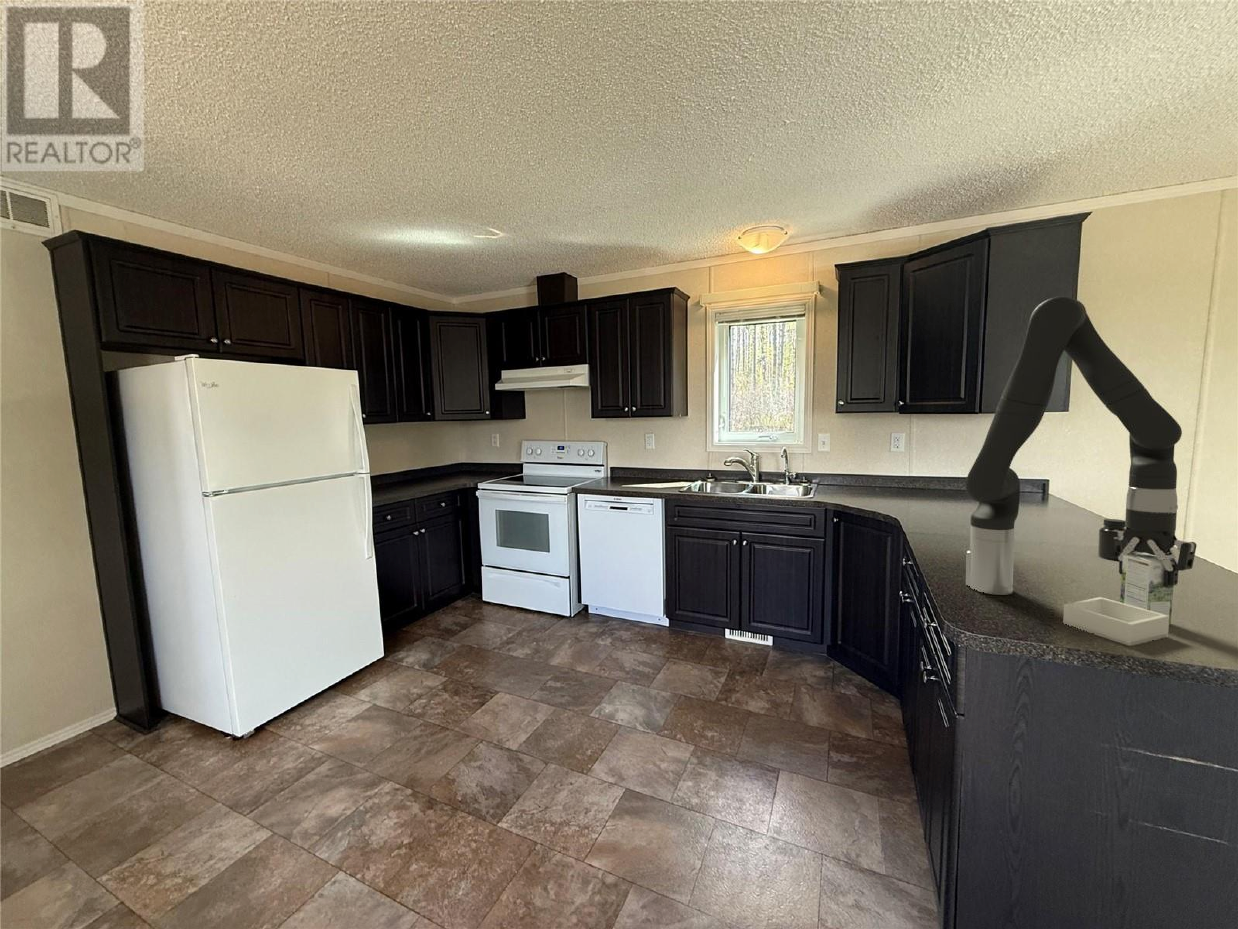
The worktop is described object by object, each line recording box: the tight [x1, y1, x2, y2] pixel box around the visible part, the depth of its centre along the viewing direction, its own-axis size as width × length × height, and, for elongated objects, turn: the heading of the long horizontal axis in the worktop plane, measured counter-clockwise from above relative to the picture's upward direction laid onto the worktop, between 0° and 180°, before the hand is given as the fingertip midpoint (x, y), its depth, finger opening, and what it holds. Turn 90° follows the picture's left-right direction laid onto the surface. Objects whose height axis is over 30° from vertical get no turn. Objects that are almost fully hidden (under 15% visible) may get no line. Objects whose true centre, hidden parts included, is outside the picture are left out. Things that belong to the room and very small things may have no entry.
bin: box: [1062, 596, 1169, 647], centre depth 104 cm, size 12×12×4 cm
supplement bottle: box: [1097, 518, 1129, 561], centre depth 151 cm, size 7×7×12 cm
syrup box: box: [1119, 553, 1174, 624], centre depth 108 cm, size 6×6×14 cm
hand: (1147, 581), depth 108 cm, fingers closed on syrup box, 6 cm apart
